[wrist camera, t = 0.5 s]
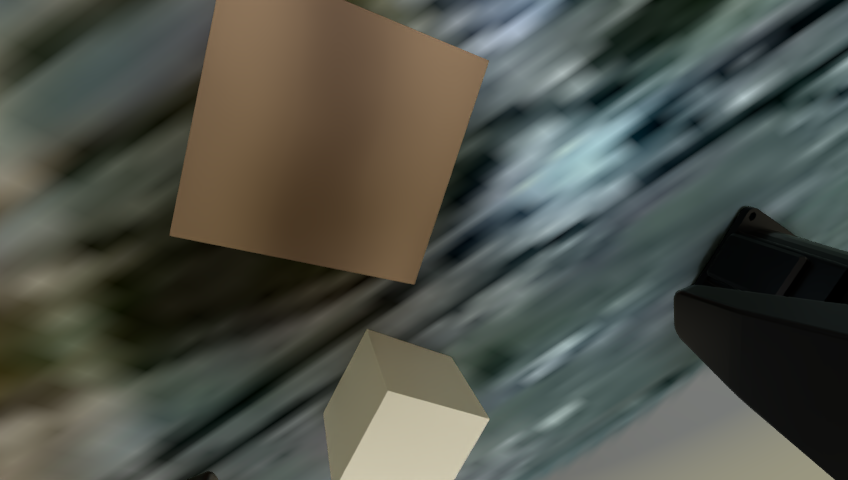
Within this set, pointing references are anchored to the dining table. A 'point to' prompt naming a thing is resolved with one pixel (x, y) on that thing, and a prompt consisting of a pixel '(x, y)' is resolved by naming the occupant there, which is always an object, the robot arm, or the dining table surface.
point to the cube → (400, 414)
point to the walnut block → (323, 135)
